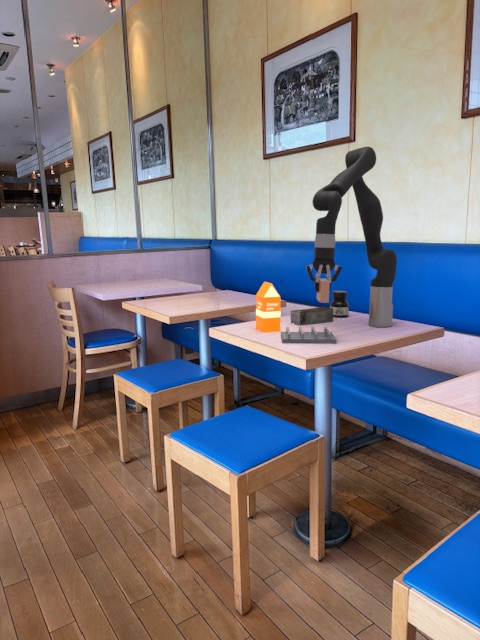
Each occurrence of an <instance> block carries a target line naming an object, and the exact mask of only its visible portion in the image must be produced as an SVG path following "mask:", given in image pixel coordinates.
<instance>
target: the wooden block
mask: <svg viewBox="0 0 480 640" xmlns="http://www.w3.org/2000/svg"><path fill="white" fill-rule="evenodd" d="M329 287H330V281H329V280H327V278H321V277H320V278H319V292H316V300H317V301H318V302H319V303H323V304H324V303H325V304H327V303H328V304H330V300H329V299H330V291H329Z"/></svg>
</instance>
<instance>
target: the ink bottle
mask: <svg viewBox="0 0 480 640" xmlns="http://www.w3.org/2000/svg"><path fill="white" fill-rule="evenodd" d="M347 299H348V291H346V290H332V301H330V302H329V308H333V318H347V317H349V313H350V312H349V310H350V304H349V302H348V301H347Z"/></svg>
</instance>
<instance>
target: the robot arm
mask: <svg viewBox="0 0 480 640" xmlns="http://www.w3.org/2000/svg"><path fill="white" fill-rule="evenodd" d="M376 163H377V154H376V151H375V150H374V148H373V147H371V146H363V147H359V148H356V149H352V150H350V151H348V152H347V153H346V155H345V167H346V169H344V170H342V171H341V172H339V173H338V174H337V175H336V176H335V177H334V178H333V179H332V180H331V182H330V183H329V184H327V185H325V186H323V187H321V188H320V189H319V190H317V191H316V193H315V194H313V195H314V196H313V198H312V206H313V208H314V209H315V210H316V211H319V212H327V214H326V215H325V216H323V217H319V218H317V220H316V223H315V224H316V227H315V238H314V251H313V253H314V254H313V255H314V256H313V261H312V263H311V264H309V265H305V269H306V271H307V274H308V276H309V279H310V281H311V282H314V291H315V292H316V293H317V292H319V278H321V275H322V274H325V276H326V279H327V280H329V281H330V287H329V292H331V291H332V290H331V289H332V283H334V282H336V281H337V279H338V277H339V275H340V273H341V271H342V268H343V267H342V266H341V265H338V264H336V261H335V256H336V254H335V252H336V251H335V249H336V224H337V220H338V217H339V214H340V211H341V208H342V204H343V197H344V196H345V195H346V194H347V192H348V191H349V190H350V189H351V188H352V189H353V192H354V197H355V201H356V206H357V210H358V213H359V218H360V219H359V220H360V224H361V227H362V231H363V237H364V241H365V247H366V248H365V249H366V256H367V261H368V265H369V267H370V268H371V269H372V270H373V269H374V270H377V271H376V276H375V277H373V278H372V279H370V287H369V288H370V289H369V290H370V293H369V309H368V325H369V326H370V327H375V328H388V327H393V314H394V313H393V312H394V304H393V285H394V282H395V281H396V273H397V265H398V264H397V263H398V259H397V254H396V252H395V250H393V249H390V248H384V246H383V243H382V240H381V230H382V227H383V222H384V213H383V209H382V204H381V200H380V199H379V197H378V195H376V194H375V193H374V192H373V191H372V189H371V188H370V187H368V185H367V184H366V182H365V180H364V178H363V176H364V175H365V174H367V173H368V172H370V171H371V170H372V169H374V167H375V166H376ZM313 268H314V270H315V271H316V272H315V277H314V275H313V272H312V270H313ZM332 270H334V271H335V272H334V274H333V276H332V274H331V272H332Z"/></svg>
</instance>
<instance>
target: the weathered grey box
mask: <svg viewBox="0 0 480 640" xmlns="http://www.w3.org/2000/svg"><path fill="white" fill-rule="evenodd" d="M333 321H334V317H333V308H330V307H326V306H318V307H311V308H305V309H295V310H294V309H293V310H290V324H293V323H294V324H293V325H296V326H299V325H300V326H299V327H302V326H309V325H317V324H322V323H323V324H324V323H331V322H333ZM301 325H302V326H301Z"/></svg>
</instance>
